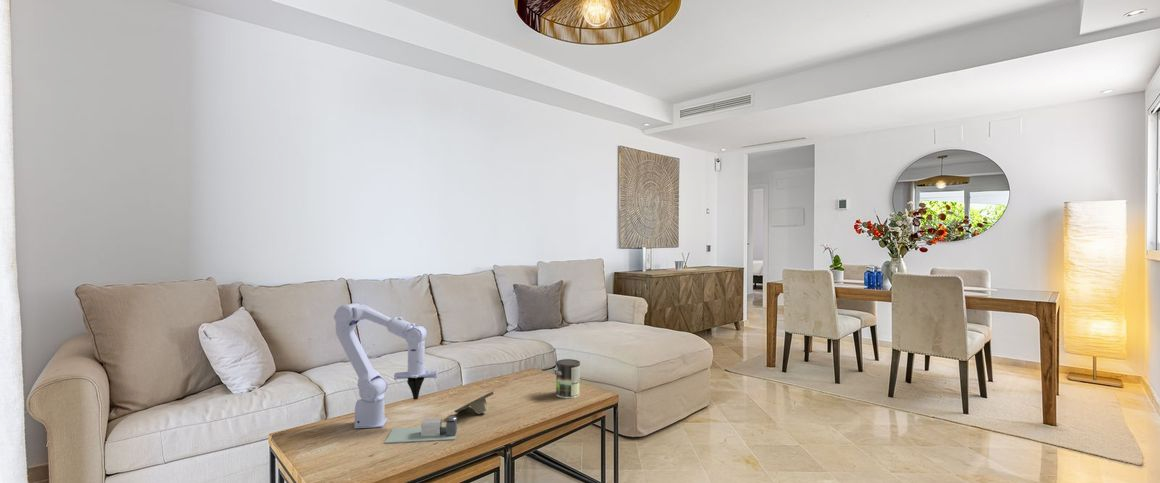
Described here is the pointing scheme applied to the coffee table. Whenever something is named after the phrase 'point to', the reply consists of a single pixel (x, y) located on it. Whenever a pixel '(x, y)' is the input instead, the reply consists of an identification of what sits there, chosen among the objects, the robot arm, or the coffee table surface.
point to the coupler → (450, 426)
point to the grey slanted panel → (477, 404)
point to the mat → (413, 436)
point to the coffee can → (567, 378)
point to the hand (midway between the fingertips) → (415, 398)
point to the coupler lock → (431, 427)
